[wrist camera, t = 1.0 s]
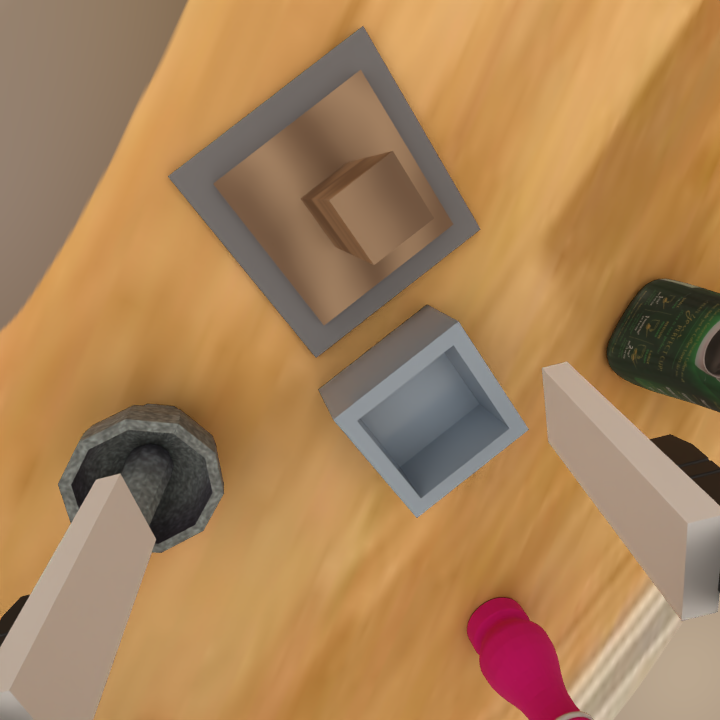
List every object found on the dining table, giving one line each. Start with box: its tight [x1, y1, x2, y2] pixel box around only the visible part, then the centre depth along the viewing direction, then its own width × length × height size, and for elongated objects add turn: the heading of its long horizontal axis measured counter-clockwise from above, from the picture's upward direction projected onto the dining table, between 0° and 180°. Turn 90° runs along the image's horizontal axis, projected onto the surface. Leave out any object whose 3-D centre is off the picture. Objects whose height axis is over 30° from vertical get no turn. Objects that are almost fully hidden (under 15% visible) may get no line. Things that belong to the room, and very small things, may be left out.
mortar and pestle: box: [58, 404, 224, 553], centre depth 34 cm, size 11×9×12 cm
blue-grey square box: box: [318, 305, 529, 518], centre depth 41 cm, size 11×11×6 cm
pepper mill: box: [467, 597, 593, 720], centre depth 45 cm, size 7×7×20 cm
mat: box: [168, 26, 480, 357], centre depth 37 cm, size 16×16×1 cm
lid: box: [213, 70, 454, 325], centre depth 32 cm, size 12×12×11 cm
